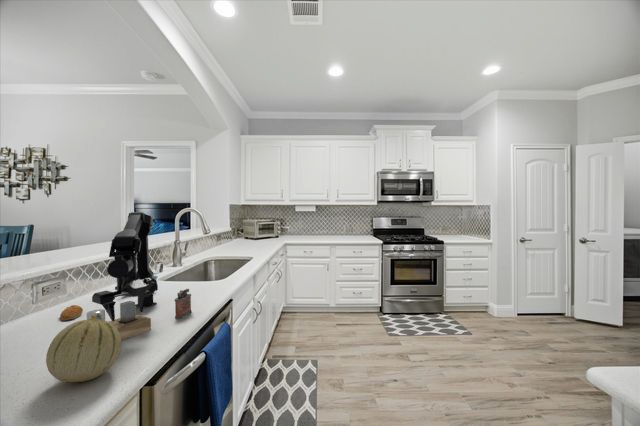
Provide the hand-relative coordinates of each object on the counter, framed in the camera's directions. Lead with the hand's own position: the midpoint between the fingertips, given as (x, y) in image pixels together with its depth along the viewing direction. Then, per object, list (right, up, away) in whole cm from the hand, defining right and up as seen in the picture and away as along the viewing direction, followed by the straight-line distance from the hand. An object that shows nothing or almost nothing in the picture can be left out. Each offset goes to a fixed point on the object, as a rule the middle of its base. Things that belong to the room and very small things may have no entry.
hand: (127, 316), depth 101 cm
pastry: (-32, -6, +15) cm, 36 cm away
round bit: (-14, -6, +3) cm, 15 cm away
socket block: (0, -6, 0) cm, 6 cm away
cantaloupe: (+7, -6, -27) cm, 29 cm away
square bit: (0, -5, 0) cm, 5 cm away
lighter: (+12, -5, +16) cm, 21 cm away
